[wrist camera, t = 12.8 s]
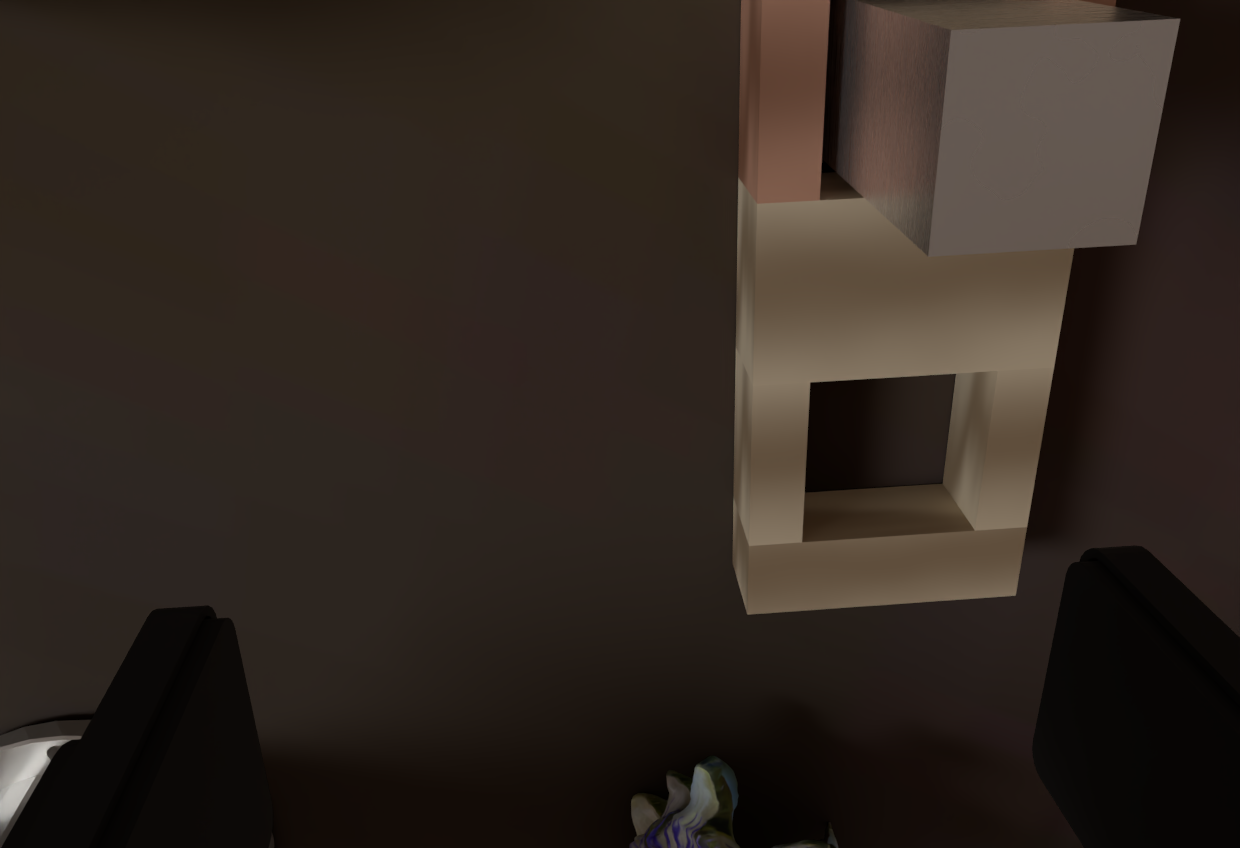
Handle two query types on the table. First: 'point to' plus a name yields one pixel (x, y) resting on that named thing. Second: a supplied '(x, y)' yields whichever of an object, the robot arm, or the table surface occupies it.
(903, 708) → the table surface
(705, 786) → the passion flower
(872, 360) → the block with square holes
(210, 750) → the robot arm
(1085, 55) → the peg
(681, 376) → the table surface
